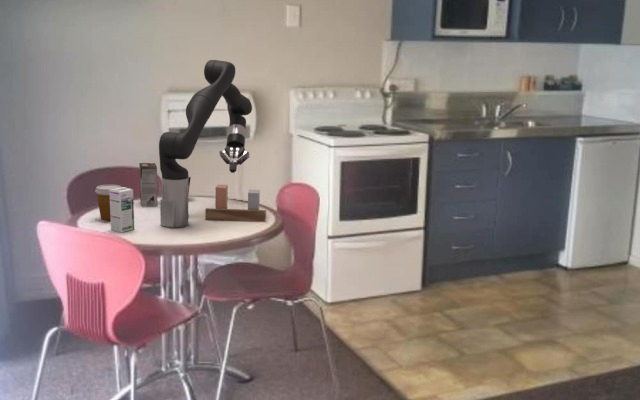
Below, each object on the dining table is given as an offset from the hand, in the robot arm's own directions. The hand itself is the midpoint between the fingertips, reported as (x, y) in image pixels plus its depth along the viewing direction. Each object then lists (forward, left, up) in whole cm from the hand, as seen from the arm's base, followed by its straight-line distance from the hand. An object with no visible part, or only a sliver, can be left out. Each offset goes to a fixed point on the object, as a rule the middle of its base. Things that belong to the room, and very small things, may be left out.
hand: (232, 171), depth 274 cm
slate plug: (-14, -20, -13) cm, 27 cm away
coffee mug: (-9, +21, -14) cm, 27 cm away
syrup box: (-55, +7, -14) cm, 57 cm away
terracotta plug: (-14, -5, -13) cm, 20 cm away
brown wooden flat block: (-16, -14, -14) cm, 25 cm away
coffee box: (-21, +26, -14) cm, 36 cm away
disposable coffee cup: (-47, +21, -14) cm, 53 cm away
